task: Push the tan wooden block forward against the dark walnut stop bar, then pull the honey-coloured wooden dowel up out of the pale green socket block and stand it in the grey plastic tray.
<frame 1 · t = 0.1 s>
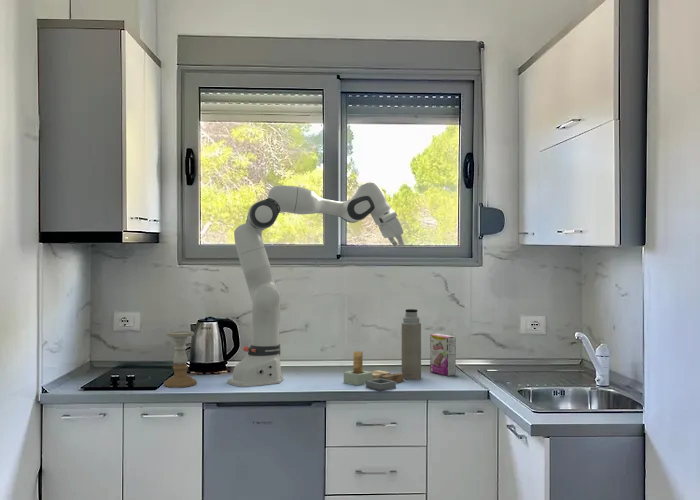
hand: (398, 245, 261), 54 cm above the worktop, tool tilted 30°, fingers open, 8 cm apart
tray: (380, 387, 234), on the worktop
thermos bottle: (411, 378, 254), on the worktop
stop bar: (392, 382, 244), on the worktop
candy bar box: (442, 374, 262), on the worktop
tan wooden block: (376, 380, 251), on the worktop
dowel: (358, 367, 244), in the socket block
socket block: (358, 382, 244), on the worktop
candle holder: (180, 385, 240), on the worktop
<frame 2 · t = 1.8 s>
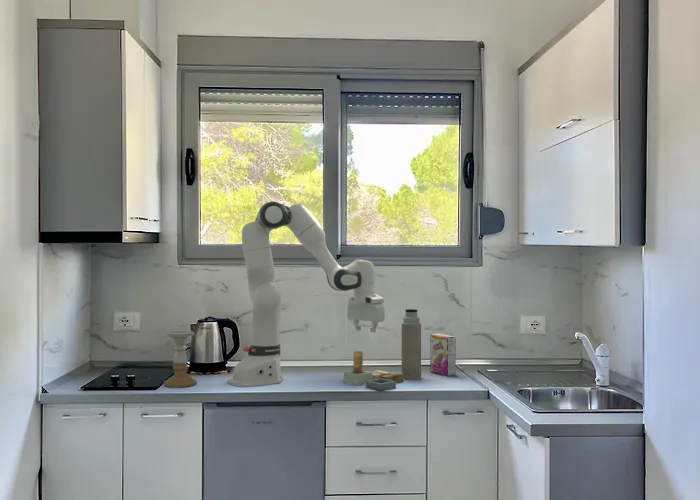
hand: (365, 331, 257), 19 cm above the worktop, tool pointing down, fingers open, 8 cm apart
nothing on the worktop moved.
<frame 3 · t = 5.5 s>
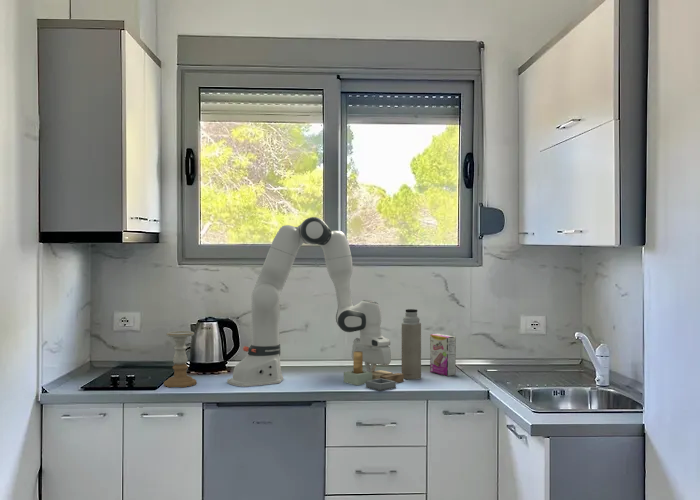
hand: (370, 373, 254), 2 cm above the worktop, tool pointing down, fingers closed
tan wooden block: (378, 380, 250), on the worktop
everything else where it was.
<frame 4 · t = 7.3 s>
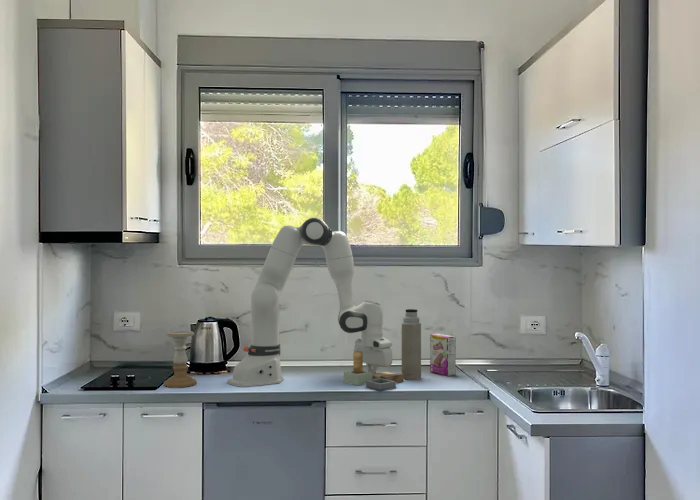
hand: (372, 374, 252), 1 cm above the worktop, tool pointing down, fingers closed
tan wooden block: (383, 381, 248), on the worktop
everything else where it was.
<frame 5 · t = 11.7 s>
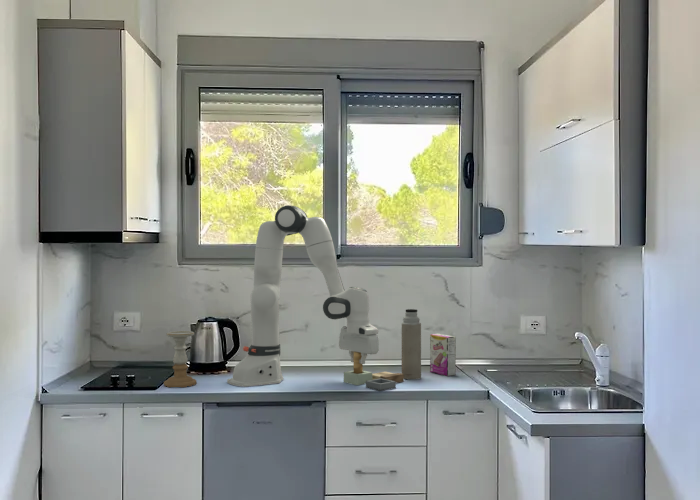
hand: (358, 363, 244), 8 cm above the worktop, tool pointing down, fingers closed on dowel, 4 cm apart
dowel: (358, 367, 244), in the socket block, touching gripper
everything else where it was.
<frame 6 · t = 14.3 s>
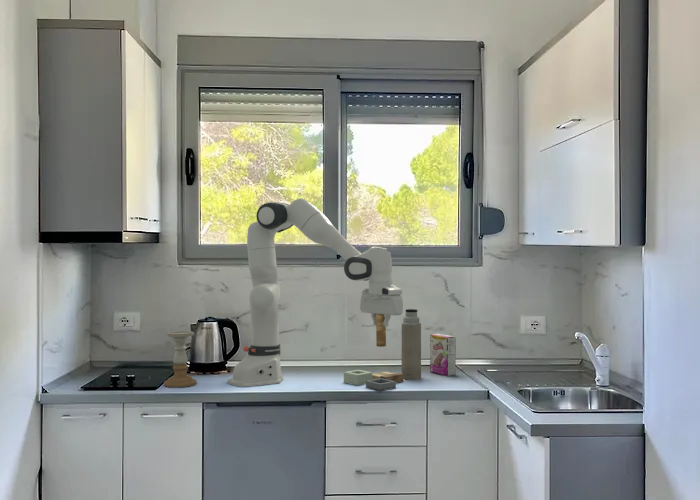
hand: (380, 325, 234), 23 cm above the worktop, tool pointing down, fingers closed on dowel, 4 cm apart
dowel: (381, 330, 235), point 22 cm above the worktop, touching gripper
everything else where it was.
when the fingers open (9 cm above the worktop, at t = 17.2 s): dowel stays where it is, resting on tray.
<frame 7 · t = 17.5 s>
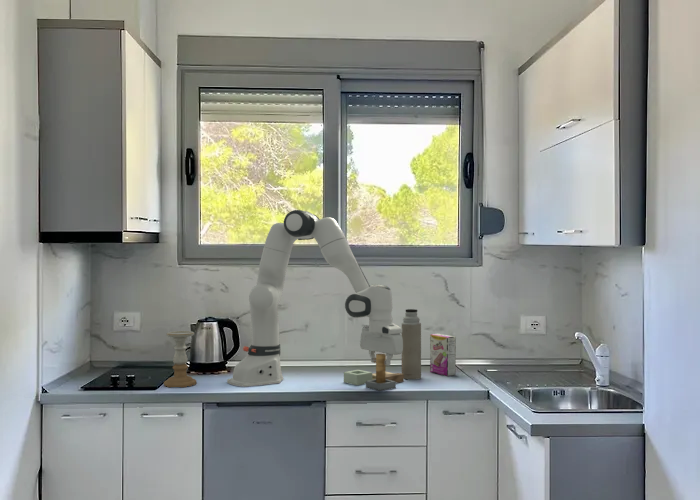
hand: (380, 363, 234), 9 cm above the worktop, tool pointing down, fingers open, 6 cm apart
dowel: (380, 370, 234), in the tray, point 7 cm above the worktop
everything else where it was.
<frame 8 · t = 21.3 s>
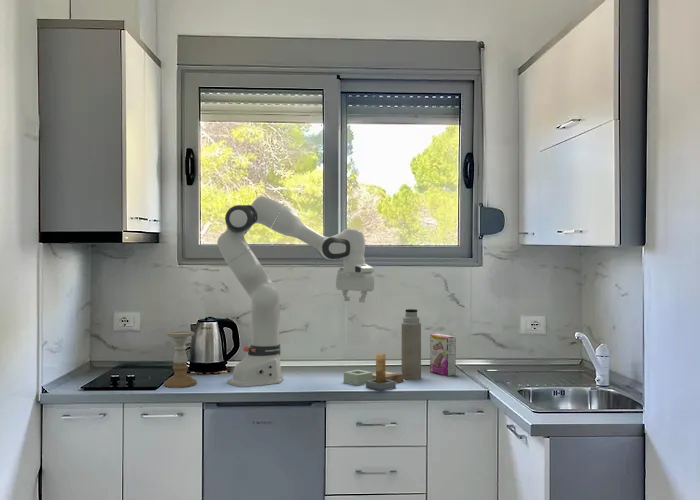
hand: (354, 301, 254), 31 cm above the worktop, tool pointing down, fingers open, 8 cm apart
nothing on the worktop moved.
at the end: dowel 0.1 cm off-centre on the tray, point 6.6 cm above the tray's base; dowel tilted 0°; tan wooden block 0.1 cm from the target spot, on the worktop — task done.
